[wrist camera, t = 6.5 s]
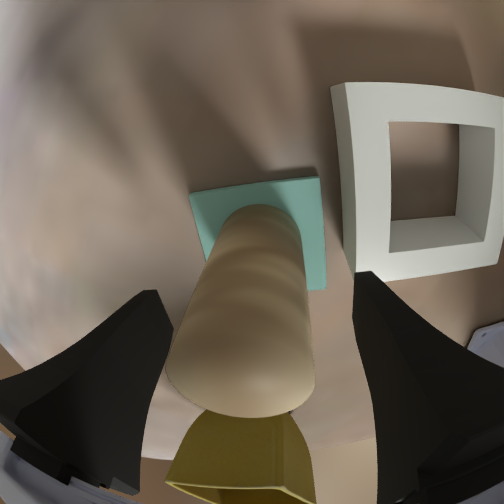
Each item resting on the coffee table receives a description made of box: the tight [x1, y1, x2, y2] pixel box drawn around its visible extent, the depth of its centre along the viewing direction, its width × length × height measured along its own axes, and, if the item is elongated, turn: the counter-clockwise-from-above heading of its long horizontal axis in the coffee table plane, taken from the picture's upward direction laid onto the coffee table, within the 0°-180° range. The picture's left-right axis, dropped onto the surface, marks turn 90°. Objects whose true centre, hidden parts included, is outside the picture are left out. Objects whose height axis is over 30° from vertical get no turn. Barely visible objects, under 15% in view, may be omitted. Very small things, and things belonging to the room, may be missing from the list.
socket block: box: [330, 82, 504, 282], centre depth 10 cm, size 8×8×3 cm
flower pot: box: [164, 409, 316, 504], centre depth 19 cm, size 9×9×9 cm
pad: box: [189, 176, 326, 291], centre depth 14 cm, size 6×6×1 cm
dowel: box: [166, 204, 315, 418], centre depth 11 cm, size 4×4×8 cm
